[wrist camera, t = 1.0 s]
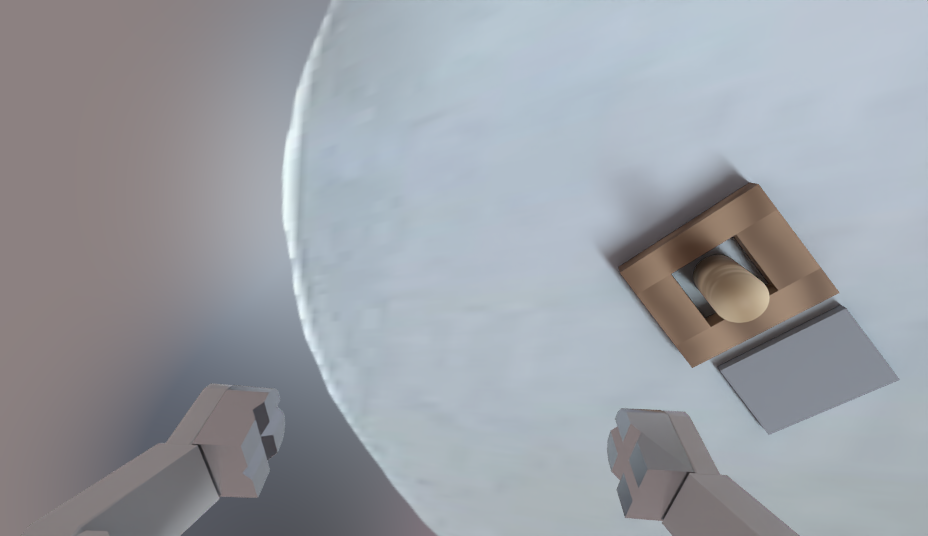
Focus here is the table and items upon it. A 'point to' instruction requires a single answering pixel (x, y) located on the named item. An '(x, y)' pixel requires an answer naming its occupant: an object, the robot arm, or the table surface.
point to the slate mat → (808, 370)
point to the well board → (766, 245)
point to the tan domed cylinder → (731, 289)
